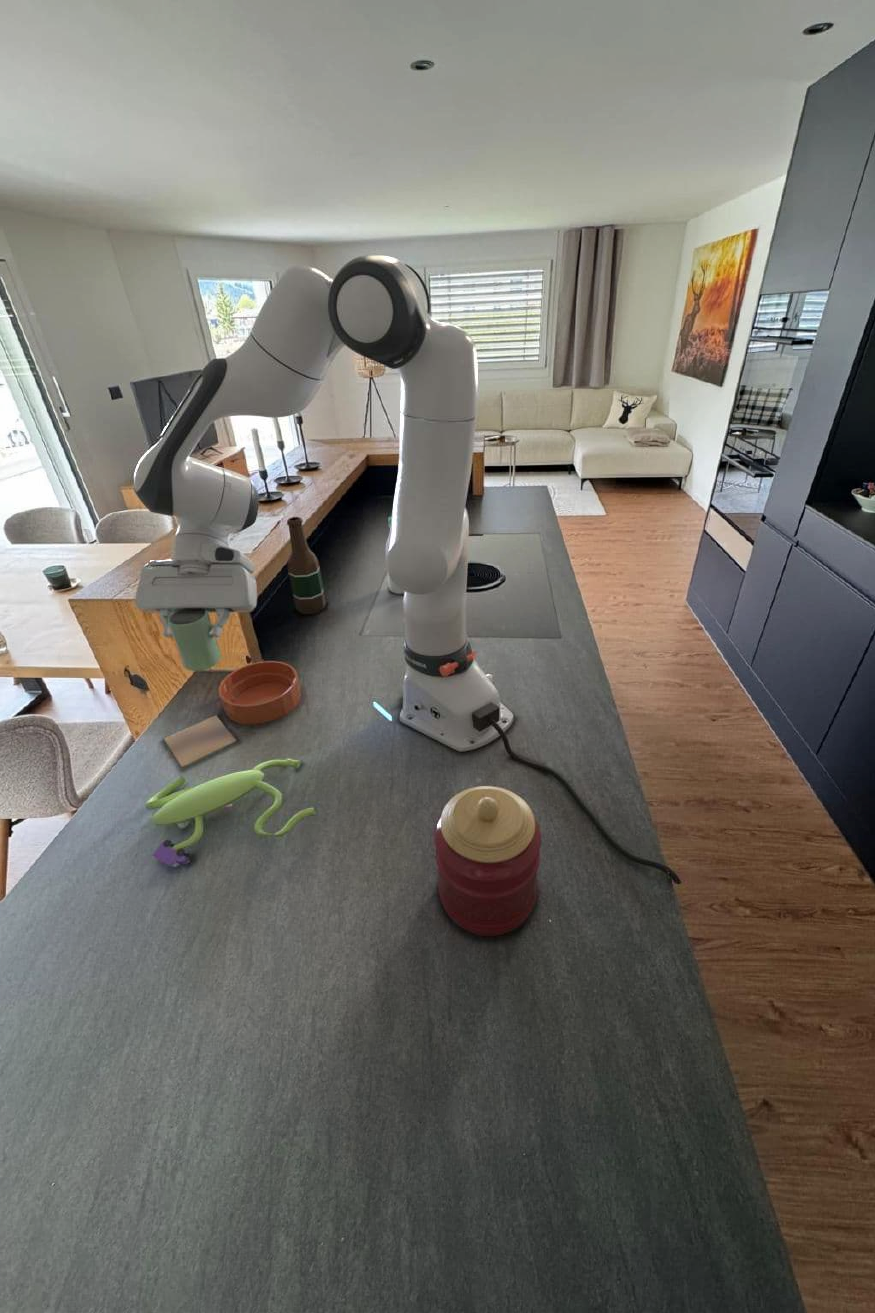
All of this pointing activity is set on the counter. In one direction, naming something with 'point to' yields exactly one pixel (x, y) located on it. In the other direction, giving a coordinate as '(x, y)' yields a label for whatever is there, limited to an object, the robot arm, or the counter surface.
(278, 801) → the figurine
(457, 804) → the kitchen canister
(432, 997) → the counter surface
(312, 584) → the beer bottle
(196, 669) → the cup
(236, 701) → the bowl
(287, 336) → the robot arm
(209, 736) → the coaster
